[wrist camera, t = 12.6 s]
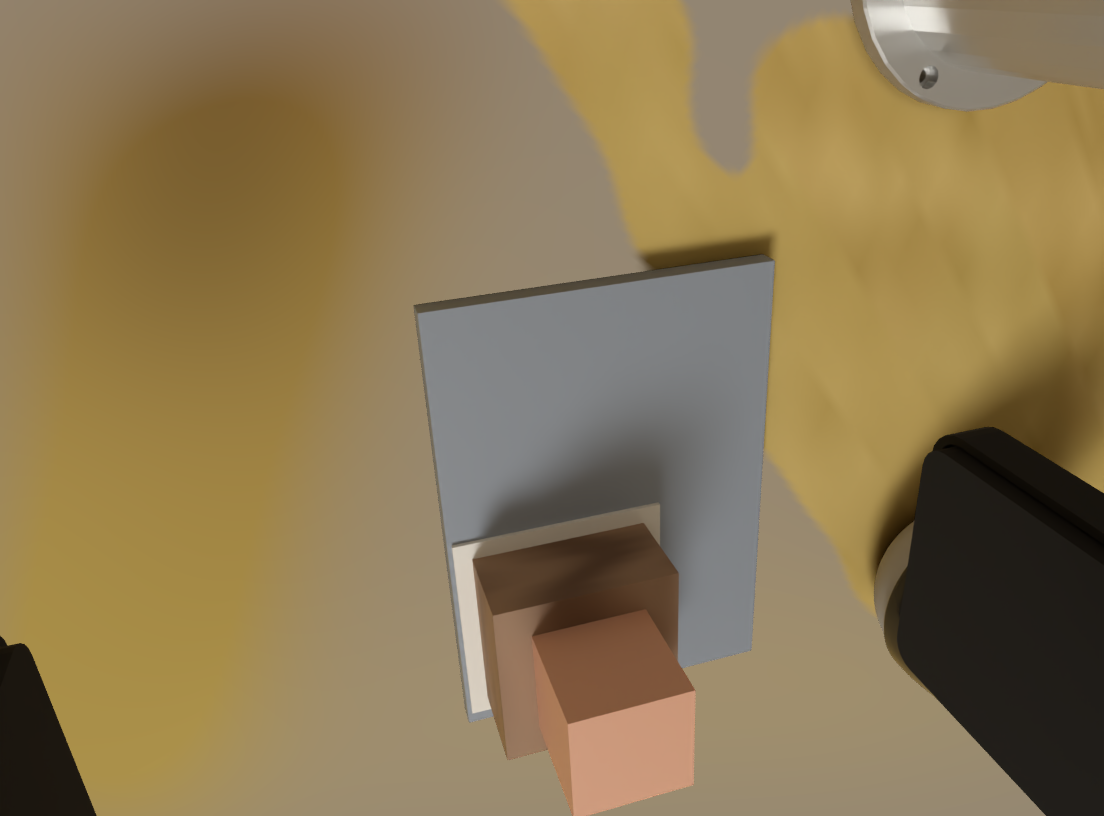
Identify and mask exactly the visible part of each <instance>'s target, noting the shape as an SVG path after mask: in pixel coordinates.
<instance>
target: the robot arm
mask: <svg viewBox="0 0 1104 816" xmlns="http://www.w3.org/2000/svg"><path fill="white" fill-rule="evenodd" d="M851 5H852V10H853V15H854V20H855V24H856V27H857V29H858V32H859V34H860V37H861V39H862V42H863V45H864V47H865V50H866V52H867V53H868V55H869V56H870V58H871V59H872V61H873V62H874V64H875V65H876V67H877V68H878V70H879V71H880V73H881V74H882V75H883V76H884V77H885V78H886V79H887V80H888V81H890V82H891V83H892V84H893V85H894V86H895V87H896V88H897V89H898V90H899V91H901V92H903V93H904V94H906V95H908V96H910V97H912V98H913V99H915V100H917V101H919V102H921V103H925V104H929V105H933V106H937V107H941V108H945V109H953V110H961V111H975V110H984V109H993V108H996V107H999V106H1001V105H1004V104H1007V103H1010V102H1013V101H1016V100H1018V99H1020V98H1022V97H1024V96H1026V95H1027V94H1029V93H1031V92H1033V91H1034V90H1036V89H1038V88H1040V87H1042V86H1043V85H1044V84H1045V83H1047V82H1055V83H1062V84H1069V85H1076V86H1084V87H1091V88H1098V89H1104V0H851ZM897 643H898V649H899V652H900V655H901V657H902V659H903V661H904V663H905V664H906V666H907V667H908V668H909V669H910V671H911V672H912V673H913V674H914V675H915V676H916V677H917V678H918V679H919V680H920V681H921V682H922V683H923V684H924V686H925V687H926V688H927V689H928V690H929V691H930V692H931V693H932V694H933V695H934V696H935V697H936V698H937V699H938V701H940V703H941V704H943V706H944V707H945V708H946V709H947V710H948V711H949V712H950V713H951V714H952V715H953V716H954V718H955V719H956V720H957V721H958V722H959V723H960V724H961V725H962V726H963V727H964V728H965V729H966V730H967V732H968V733H969V734H970V735H971V736H972V737H973V738H974V739H975V740H976V741H977V742H978V743H979V744H980V745H981V747H982V748H983V749H984V750H985V751H986V752H987V753H988V754H989V755H990V756H991V757H992V758H993V759H994V760H995V761H996V763H997V764H998V765H999V766H1000V767H1001V768H1002V769H1003V770H1004V771H1005V772H1006V773H1007V774H1008V775H1009V776H1010V777H1011V779H1012V780H1013V781H1014V782H1015V783H1016V784H1017V785H1018V786H1019V787H1020V788H1021V789H1022V790H1023V791H1024V793H1026V795H1027V796H1028V797H1029V798H1030V799H1031V800H1032V801H1033V802H1034V803H1035V804H1036V805H1037V806H1038V808H1039V809H1040V810H1041V811H1042V812H1043V813H1044V814H1045V815H1046V816H1104V493H1102V492H1101V491H1099V490H1097V489H1096V488H1094V487H1092V486H1091V485H1089V484H1088V483H1086V482H1084V481H1083V480H1081V479H1080V478H1078V477H1076V476H1075V475H1073V474H1071V473H1070V472H1068V471H1067V470H1065V469H1063V468H1062V467H1060V466H1058V465H1057V464H1055V463H1054V462H1052V461H1050V460H1049V459H1047V458H1045V457H1044V456H1042V455H1041V454H1039V453H1037V452H1036V451H1034V450H1032V449H1031V448H1029V447H1028V446H1026V445H1024V444H1023V443H1021V442H1019V441H1018V440H1016V439H1015V438H1013V437H1011V436H1010V435H1008V434H1006V433H1005V432H1003V431H1002V430H999V429H997V428H994V427H984V428H979V429H974V430H969V431H965V432H960V433H955V434H950V435H945V436H944V437H942V438H940V439H939V440H938V441H937V442H936V444H935V445H934V448H933V451H932V452H930V453H928V455H927V456H926V457H925V459H924V463H923V467H922V474H921V480H920V487H919V493H918V500H917V506H916V513H915V520H914V526H913V533H912V539H911V546H910V553H909V559H908V566H907V572H906V579H905V586H904V592H903V599H902V605H901V612H900V619H899V625H898V632H897ZM0 816H96V813H95V811H94V808H93V806H92V803H91V801H90V799H89V796H88V793H87V791H86V788H85V786H84V784H83V781H82V779H81V776H80V773H79V771H78V769H77V766H76V763H75V761H74V758H73V756H72V753H71V751H70V749H69V746H68V743H67V741H66V738H65V736H64V733H63V731H62V729H61V726H60V724H59V721H58V719H57V716H56V714H55V711H54V709H53V706H52V704H51V701H50V699H49V696H48V694H47V691H46V689H45V686H44V684H43V681H42V679H41V676H40V674H39V671H38V669H37V666H36V664H35V661H34V659H33V656H32V654H31V652H30V650H29V649H28V647H27V646H26V645H25V644H21V643H19V644H14V645H9V646H7V644H6V642H5V640H4V639H3V638H2V637H1V636H0Z"/></svg>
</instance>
